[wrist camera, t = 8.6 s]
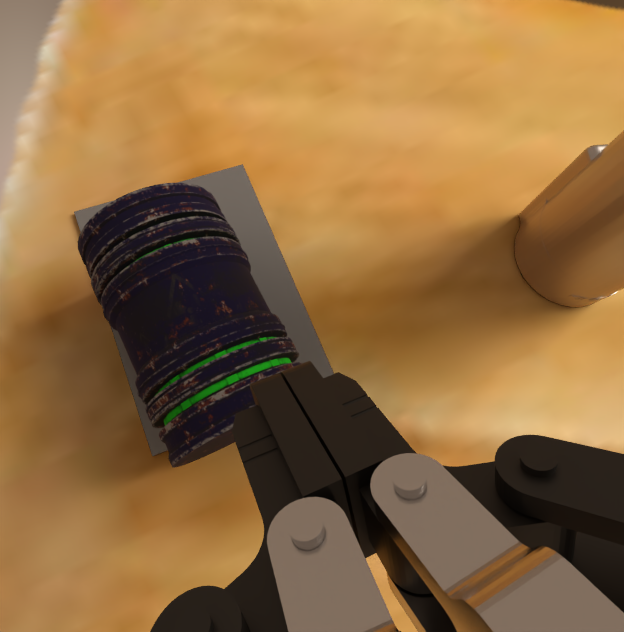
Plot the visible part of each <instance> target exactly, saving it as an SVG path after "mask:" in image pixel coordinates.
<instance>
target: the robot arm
mask: <svg viewBox="0 0 624 632" xmlns="http://www.w3.org/2000/svg"><path fill="white" fill-rule="evenodd" d="M519 218H520V221H521V226H520V229H519V231H518V233H517V235H516V240H515V257H516V261H517V264H518V267H519V269H520V271H521V273H522V275H523V277H524V278H525V279H526V281H527V282H528V283H529V285H530V286H531V287H532V288H533V289H534V290H535V291H537V292H538V293H539V294H540V295H542V296H543V297H545V298H546V299H548V300H550V301H552V302H555V303H557V304H560V305H564V306H569V307H582V306H587V305H591V304H593V303H595V302H597V301H599V300H601V299H604V298H606V297H609V296H611V295H613V294H615V293H616V292H618V291H619V290H621V289H623V288H624V131H623V132H622V133H621V134H619V135H618V136H617V137H616V138H615V139H614V140H613V141H612V142H611V143H610V144H609V145H593V146H590V147H588V148H587V149H585V150H584V151H583V152H582V153H581V154H580V155H579V156H578V157H577V158H576V159H575V160H574V161H573V162H572V163H571V164H570V165H569V166H568V167H567V168H566V169H565V170H564V171H563V172H562V173H561V174H560V175H559V176H558V177H557V178H556V179H555V180H554V181H553V182H552V183H551V184H550V185H548V186H547V187H546V188H545V189H544V190H543V191H542V192H541V193H540V194H539V195H538V196H537V197H536V198H535V199H534V200H533V201H532V202H531V203H530V204H529V205H528V206H527V207H526V208H525V209H524V210H523V211H522V212H521V213H520V214H519ZM250 389H251V392H252V395H253V398H254V401H255V404H256V406H253V407H251V408H248V409H246V410H243V411H241V412H238V413H236V414H235V419H234V423H233V428H232V433H233V436H234V439H235V442H236V445H237V448H238V450H239V453H240V456H241V459H242V462H243V465H244V468H245V470H246V473H247V476H248V479H249V482H250V485H251V487H252V490H253V493H254V496H255V499H256V502H257V504H258V507H259V510H260V513H261V516H262V519H263V523H264V538H263V542H262V546H261V548H260V550H259V553H258V554H257V556H256V558H255V559H254V561H253V562H252V563H251V565H250V566H249V567H248V568H247V569H246V570H245V571H244V572H243V573H242V574H241V575H240V576H239V577H237V578H236V579H235V580H234V581H233V582H232V583H231V584H230V585H228V586H227V587H226V588H225V589H222V588H219V587H216V586H201V587H197V588H193V589H191V590H189V591H186V592H185V593H183V594H181V595H180V596H178V597H177V598H176V599H174V600H173V601H172V602H171V603H170V604H169V605H168V606H167V607H166V608H165V609H164V610H163V612H162V613H161V614H160V616H159V617H158V619H157V620H156V622H155V624H154V626H153V628H152V629H151V631H150V632H401V631H398V629H397V628H396V626H395V624H394V622H393V620H392V618H391V616H390V614H389V611H388V609H387V607H386V604H385V602H384V600H383V598H382V595H381V593H380V591H379V589H378V586H377V584H376V582H375V579H374V577H373V575H372V573H371V570H370V568H369V566H368V564H367V561H366V559H365V558H367V557H369V556H371V555H373V554H375V553H377V555H378V557H379V558H380V560H381V562H382V564H383V565H384V567H385V569H386V572H387V577H388V583H389V586H390V589H391V590H392V592H393V594H394V596H395V597H396V599H397V600H398V602H399V603H400V605H401V606H402V608H403V609H404V611H405V612H406V614H407V615H408V617H409V618H410V620H411V622H412V623H413V625H414V626H415V628H416V629H417V631H418V632H624V454H620V453H616V452H612V451H607V450H603V449H598V448H594V447H589V446H585V445H580V444H576V443H572V442H567V441H563V440H558V439H554V438H549V437H545V436H539V435H522V436H517V437H514V438H511V439H509V440H507V441H506V442H504V443H503V444H502V445H501V446H500V447H499V448H498V450H497V452H496V455H495V462H488V463H482V464H475V465H468V466H459V467H449V466H442V465H441V464H440V463H439V462H437V461H436V460H434V459H432V458H430V457H428V456H425V455H421V454H417V453H416V452H415V451H414V450H413V449H412V448H411V447H410V446H409V444H408V443H407V442H406V441H405V440H404V438H403V437H402V436H401V435H400V434H399V432H398V431H397V430H396V429H395V428H394V426H393V425H392V424H391V423H390V422H389V420H388V419H387V418H386V417H385V416H384V414H383V413H382V412H381V411H380V409H379V408H377V407H376V405H375V403H374V402H373V401H372V400H371V399H370V397H368V396H367V394H366V393H365V391H364V390H363V389H362V388H361V387H360V385H359V384H358V383H357V382H356V381H355V380H353V379H351V378H349V377H347V376H345V375H343V374H340V373H335V374H333V375H330V376H328V377H325V378H323V377H322V376H321V374H320V373H319V372H318V370H317V369H316V368H315V366H314V365H313V363H312V362H311V361H307V362H305V363H302V364H300V365H297V366H295V367H292V368H289V369H287V370H284V371H282V372H281V375H280V373H277V374H274V375H272V376H269V377H267V378H264V379H261V380H259V381H256V382H254V383H251V384H250Z"/></svg>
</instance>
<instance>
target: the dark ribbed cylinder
mask: <svg viewBox="0 0 624 632" xmlns="http://www.w3.org/2000/svg"><path fill="white" fill-rule="evenodd" d="M78 250H79V252H80V255H81V257H82V260H83V262H84V264H85V265H86V268H87V271H88V274H89V276H90V278H91V285H92V287H93V290H94V292H95V295H96V297H97V299H98V302H99V303H100V304H101V305H102V308H103V313H104V316H105V318H106V319H107V320H108V321H109V324H110V326H111V327H112V328H113V329H114V330H116V331H118V333H119V335H120V337H121V340H122V342H123V344H124V347H125V349H126V351H127V354H128V356H129V358H130V360H131V363H132V365H133V367H134V370H135V372H136V374H137V378H136V381H135V384H136V387H137V390H138V396H139V397H140V398H141V399H142V401H143V403H144V404H146V405H147V406H146V408H145V410H146V413H147V414H148V418H149V420H150V422H151V424H152V427H154V428H163V429H162V430H161V431H160V432H159V438H160V440H161V441H162V442H163V443H165V444H166V447H167V449H168V451H169V461H170V463H171V465H172V467H179V466H182V465H185V464H187V463H190V462H192V461H195V460H197V459H200V458H202V457H204V456H206V455H209V454H211V453H213V452H215V451H217V450H219V449H221V448H223V447H226V446H228V445H230V444H232V443H234V442H235V439H234V436H233V433H232V428H233V423H234V419H235V414H236V413H238V412H241V411H243V410H246V409H248V408H251V407H253V406H256V404H255V401H254V398H253V395H252V392H251V389H250V384H251V383H254V382H256V381H259V380H261V379H264V378H267V377H269V376H272V375H274V374H277V373H280V375H281V372H282V371H284V370H287V369H289V368H292V367H295V366H297V365H300V364H302V363H301V362H295V361H296V360H297V358H298V357H299V353H298V351H297V349H296V347H295V345H294V343H293V342H292V339H290V338H289V337H287V332H286V330H285V326H284V325H283V324H282V323H281V321H280V319H279V317H278V316H277V315H275V314H273V313H271V311H270V309H269V307H268V305H267V304H266V302H265V300H264V298H263V296H262V294H261V292H260V290H259V288H258V286H257V285H256V283H255V281H254V279H253V277H252V275H251V273H250V272H251V265H250V263H249V261H248V256H247V254H246V252H245V251H244V250H243V249H242V247H241V244H240V242H239V239H238V238H237V235H236V234H235V232H234V230H233V228H232V227H231V225H230V224H229V223H228V222H227V220H226V218H225V216H224V214H223V213H222V212H221V209H220V207H219V205H218V203H217V201H216V199H215V197H214V196H213V195H212V194H211V192H209V191H208V190H206V189H205V188H203V187H200V186H198V185H193V184H189V183H165V184H159V185H153V186H150V187H146V188H142V189H139V190H136V191H134V192H131V193H128V194H126V195H124V196H122V197H120V198H118V199H116V200H114V201H113V202H111V203H109V204H108V205H106V206H105V207H104V208H102V209H101V210H100V211H98V212H97V213H96V214H95V215H94V216H93V217H92V218H91V219H90V220H89V221H88V222H87V224H86V225H85V226H84V228H83V229H82V231H81V233H80V236H79V240H78Z"/></svg>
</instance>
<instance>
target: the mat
mask: <svg viewBox="0 0 624 632" xmlns="http://www.w3.org/2000/svg"><path fill="white" fill-rule="evenodd" d="M178 183H189V184H193V185H198V186H200V187H203V188H205V189H206V190H208V191H209V192H211V194H212V195H213V196H214V197H215V199H216V201H217V203H218V205H219V207H220V209H221V212H222V213H223V214H224V216H225V218H226V220H227V222H228V223H229V224H230V225H231V227H232V228H233V230H234V232H235V234H236V235H237V238H238V239H239V242H240V244H241V247H242V249H243V250H244V251H245V252H246V254H247V256H248V261H249V263H250V265H251V272H250V273H251V275H252V277H253V279H254V281H255V283H256V285H257V286H258V288H259V290H260V292H261V294H262V296H263V298H264V300H265V302H266V304H267V305H268V307H269V309H270V311H271V313H273V314H275V315H277V316H278V317H279V319H280V321H281V323H282V324H283V325H284V326H285V330H286V332H287V337H289V338H290V339H292V342H293V343H294V345H295V347H296V349H297V351H298V353H299V357H298V358H297V360H296V361H295V362H301V363H305V362H307V361H311V362H312V363H313V365H314V366H315V368H316V369H317V370H318V372H319V373H320V374H321V376H322V377H323V378H325V377H328V376H330V375H333V374H334V373H333V370H332V368H331V366H330V364H329V361H328V359H327V357H326V354H325V352H324V350H323V347H322V345H321V343H320V341H319V338H318V336H317V334H316V331H315V329H314V327H313V325H312V322H311V320H310V318H309V315H308V313H307V311H306V309H305V306H304V304H303V302H302V299H301V297H300V295H299V292H298V290H297V288H296V286H295V283H294V281H293V279H292V276H291V274H290V272H289V270H288V267H287V265H286V263H285V260H284V258H283V256H282V254H281V251H280V249H279V247H278V244H277V242H276V240H275V238H274V235H273V233H272V231H271V228H270V226H269V224H268V221H267V219H266V217H265V215H264V212H263V210H262V208H261V205H260V203H259V201H258V199H257V196H256V194H255V192H254V189H253V187H252V185H251V183H250V180H249V178H248V176H247V173H246V171H245V169H244V166H243V164H242V165H239V166H235V167H232V168H228V169H225V170H221V171H218V172H214V173H210V174H207V175H203V176H200V177H196V178H193V179H189V180H186V181H182V182H178ZM111 202H113V201H111ZM111 202H108V203H104V204H100V205H97V206H93V207H90V208H86V209H83V210H79V211H76V212H74V213H75V216H76V219H77V222H78V226H79V229H80V232H81V231H82V229H83V228H84V226H85V225H86V224H87V222H88V221H89V220H90V219H91V218H92V217H93V216H94V215H95V214H96V213H97V212H98V211H100V210H101V209H102V208H104V207H105V206H106V205H108V204H109V203H111ZM111 329H112V332H113V335H114V338H115V341H116V344H117V347H118V350H119V354H120V357H121V360H122V363H123V366H124V369H125V372H126V375H127V378H128V382H129V385H130V388H131V391H132V394H133V397H134V400H135V403H136V407H137V410H138V413H139V416H140V419H141V422H142V425H143V428H144V431H145V435H146V438H147V441H148V444H149V447H150V450H151V453H152V456H155V455H157V454H160V453H162V452H165V451H167V450H168V449H167V447H166V444H165V443H163V442H162V441H161V440H160V438H159V432H160V431H161V430H162V429H163V428H154V427H152V424H151V422H150V420H149V418H148V414H147V413H146V410H145V408H146V406H147V405H146V404H144V403H143V401H142V399H141V398H140V397H139V396H138V390H137V387H136V384H135V381H136V378H137V374H136V372H135V370H134V367H133V365H132V363H131V360H130V358H129V356H128V354H127V351H126V349H125V347H124V344H123V342H122V340H121V337H120V335H119V333H118V331H116V330H114V329H113V328H112V327H111Z"/></svg>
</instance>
